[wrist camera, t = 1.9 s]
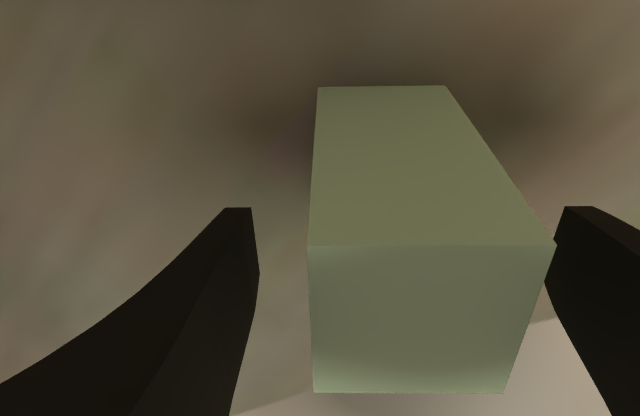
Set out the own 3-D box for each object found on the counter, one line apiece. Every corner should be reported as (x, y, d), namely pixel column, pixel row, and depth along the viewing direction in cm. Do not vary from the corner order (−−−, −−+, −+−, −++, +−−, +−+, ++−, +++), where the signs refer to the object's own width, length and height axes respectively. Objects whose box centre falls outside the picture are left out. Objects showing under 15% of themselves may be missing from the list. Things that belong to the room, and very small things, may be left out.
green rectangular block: (320, 194, 16) (313, 393, 9) (317, 86, 14) (307, 245, 7) (429, 193, 16) (502, 393, 9) (445, 85, 14) (556, 244, 7)
